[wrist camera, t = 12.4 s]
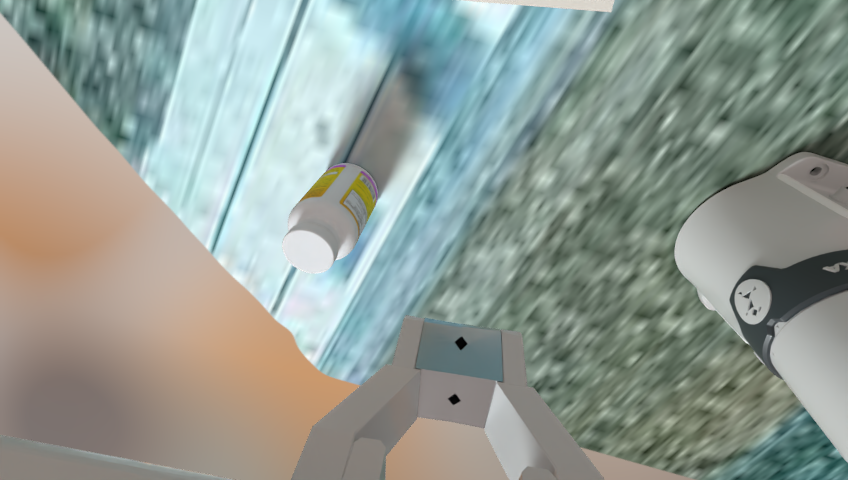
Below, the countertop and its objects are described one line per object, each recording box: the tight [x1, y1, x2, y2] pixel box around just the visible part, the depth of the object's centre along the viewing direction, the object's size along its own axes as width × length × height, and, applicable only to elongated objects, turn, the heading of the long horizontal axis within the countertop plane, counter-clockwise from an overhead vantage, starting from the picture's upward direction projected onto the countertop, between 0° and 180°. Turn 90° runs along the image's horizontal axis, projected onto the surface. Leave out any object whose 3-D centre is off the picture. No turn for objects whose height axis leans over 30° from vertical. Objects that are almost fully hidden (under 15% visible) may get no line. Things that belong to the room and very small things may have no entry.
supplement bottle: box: [282, 163, 378, 273], centre depth 38 cm, size 7×7×13 cm
